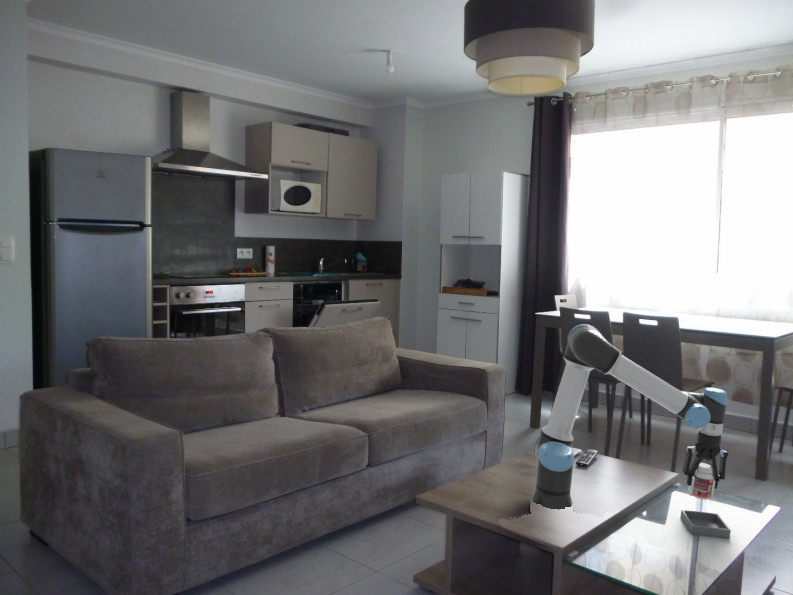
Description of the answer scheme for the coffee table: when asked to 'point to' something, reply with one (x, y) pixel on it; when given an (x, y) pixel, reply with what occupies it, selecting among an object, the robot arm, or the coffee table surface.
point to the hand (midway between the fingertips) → (700, 495)
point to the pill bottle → (703, 481)
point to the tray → (705, 524)
